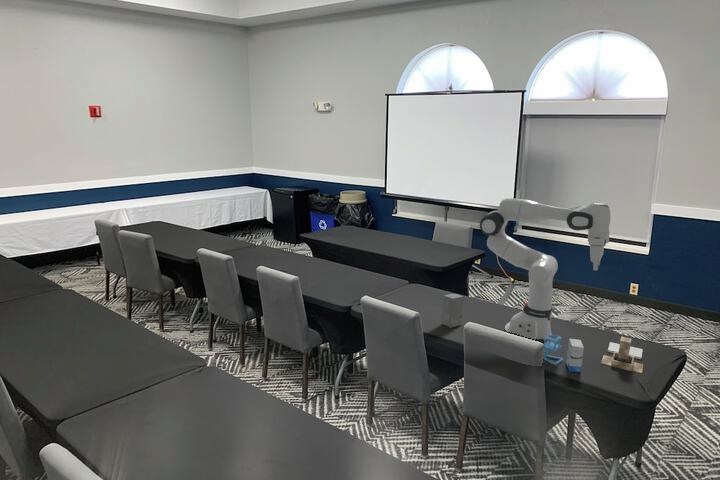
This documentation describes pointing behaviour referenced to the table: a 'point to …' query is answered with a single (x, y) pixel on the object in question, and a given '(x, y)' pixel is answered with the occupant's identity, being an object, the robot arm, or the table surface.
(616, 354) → the tan frame holder
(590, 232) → the robot arm
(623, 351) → the block
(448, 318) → the skincare box
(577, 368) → the ink box
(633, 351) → the board
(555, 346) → the chair
